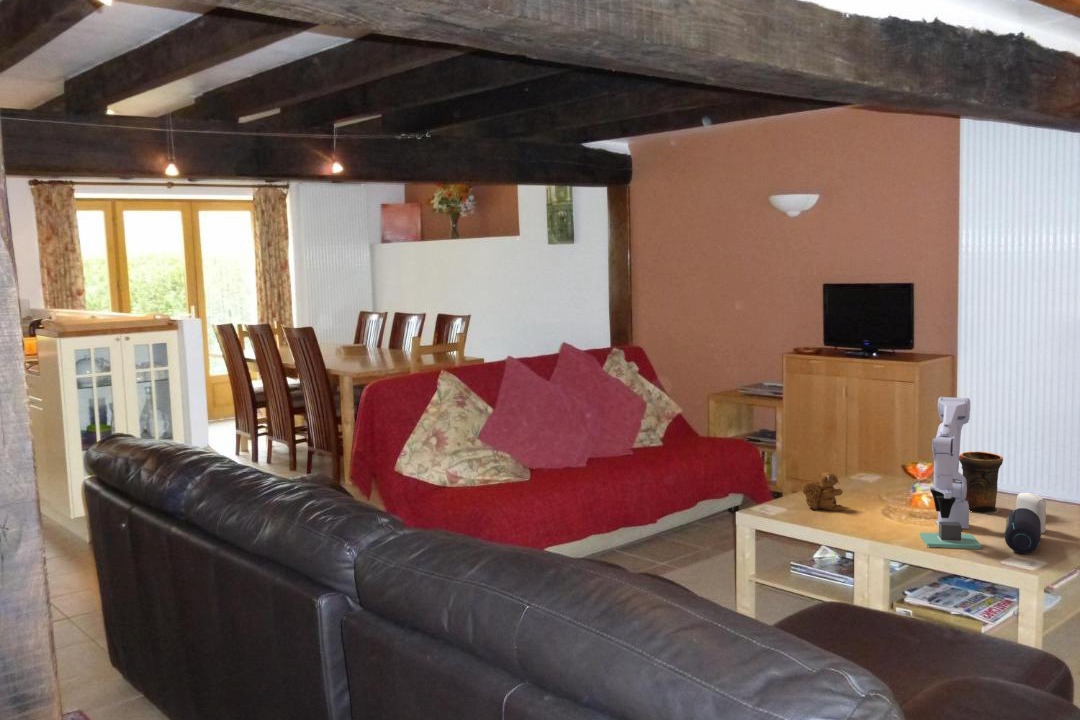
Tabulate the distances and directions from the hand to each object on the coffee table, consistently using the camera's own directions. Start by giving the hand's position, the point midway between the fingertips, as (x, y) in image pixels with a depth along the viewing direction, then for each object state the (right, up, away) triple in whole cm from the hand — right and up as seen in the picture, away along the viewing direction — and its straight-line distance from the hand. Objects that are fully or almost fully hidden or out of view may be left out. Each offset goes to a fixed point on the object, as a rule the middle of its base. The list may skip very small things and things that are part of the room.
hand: (942, 514), depth 307 cm
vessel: (+29, -4, +36) cm, 46 cm away
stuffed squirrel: (-26, -5, +43) cm, 50 cm away
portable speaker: (+23, -9, -6) cm, 25 cm away
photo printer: (+34, -7, +10) cm, 36 cm away
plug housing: (+2, -8, -2) cm, 8 cm away
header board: (+2, -9, -2) cm, 9 cm away
